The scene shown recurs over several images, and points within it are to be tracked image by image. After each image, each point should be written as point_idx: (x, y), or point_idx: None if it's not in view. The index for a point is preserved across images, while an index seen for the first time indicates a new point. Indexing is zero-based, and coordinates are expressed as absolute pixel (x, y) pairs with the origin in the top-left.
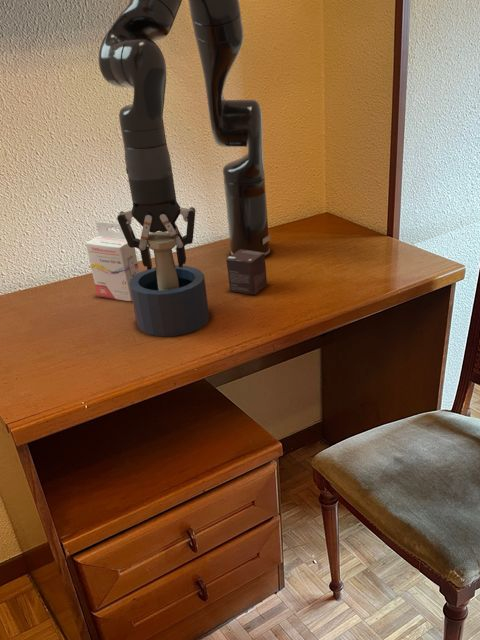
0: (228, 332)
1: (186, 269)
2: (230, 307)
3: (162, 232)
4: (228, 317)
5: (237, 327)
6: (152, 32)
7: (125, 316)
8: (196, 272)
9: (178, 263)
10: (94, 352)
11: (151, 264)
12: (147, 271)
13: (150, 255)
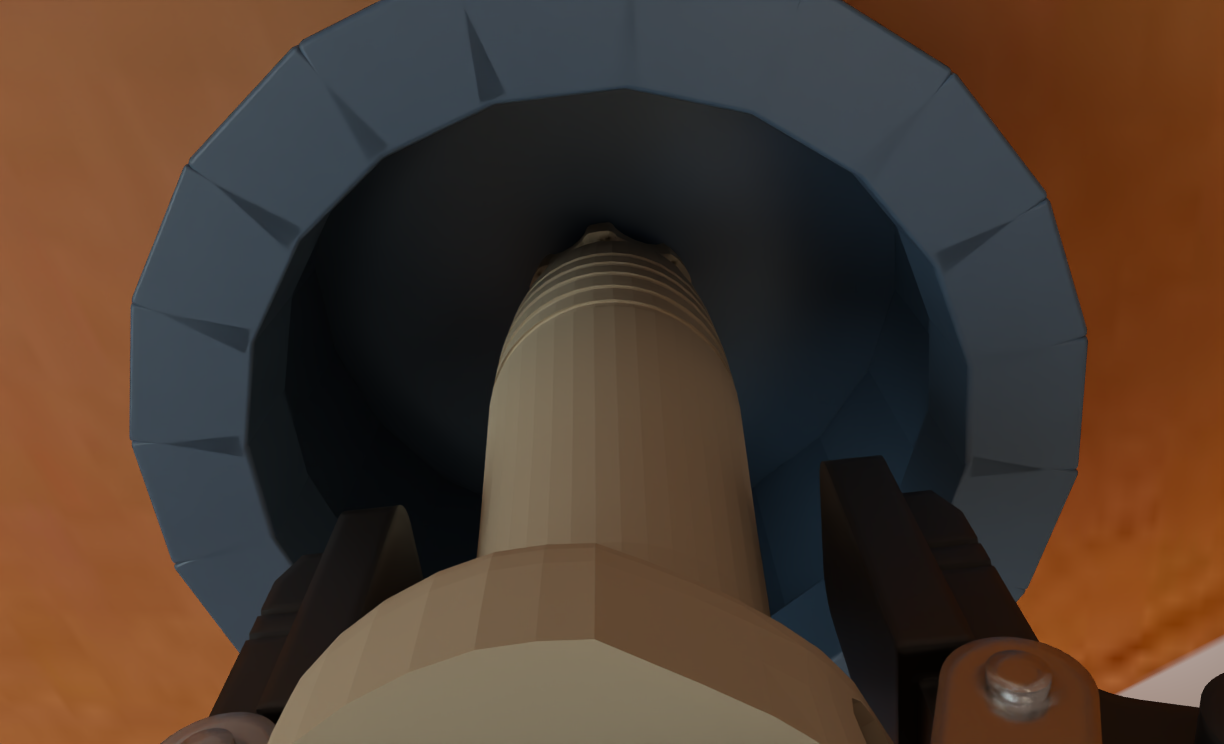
0: (1072, 487)
1: (836, 144)
2: (1130, 11)
3: (606, 704)
4: (1092, 232)
5: (1150, 413)
6: None
7: (137, 174)
8: (988, 267)
9: (841, 639)
10: (164, 711)
11: (407, 562)
12: (263, 191)
13: (370, 590)
